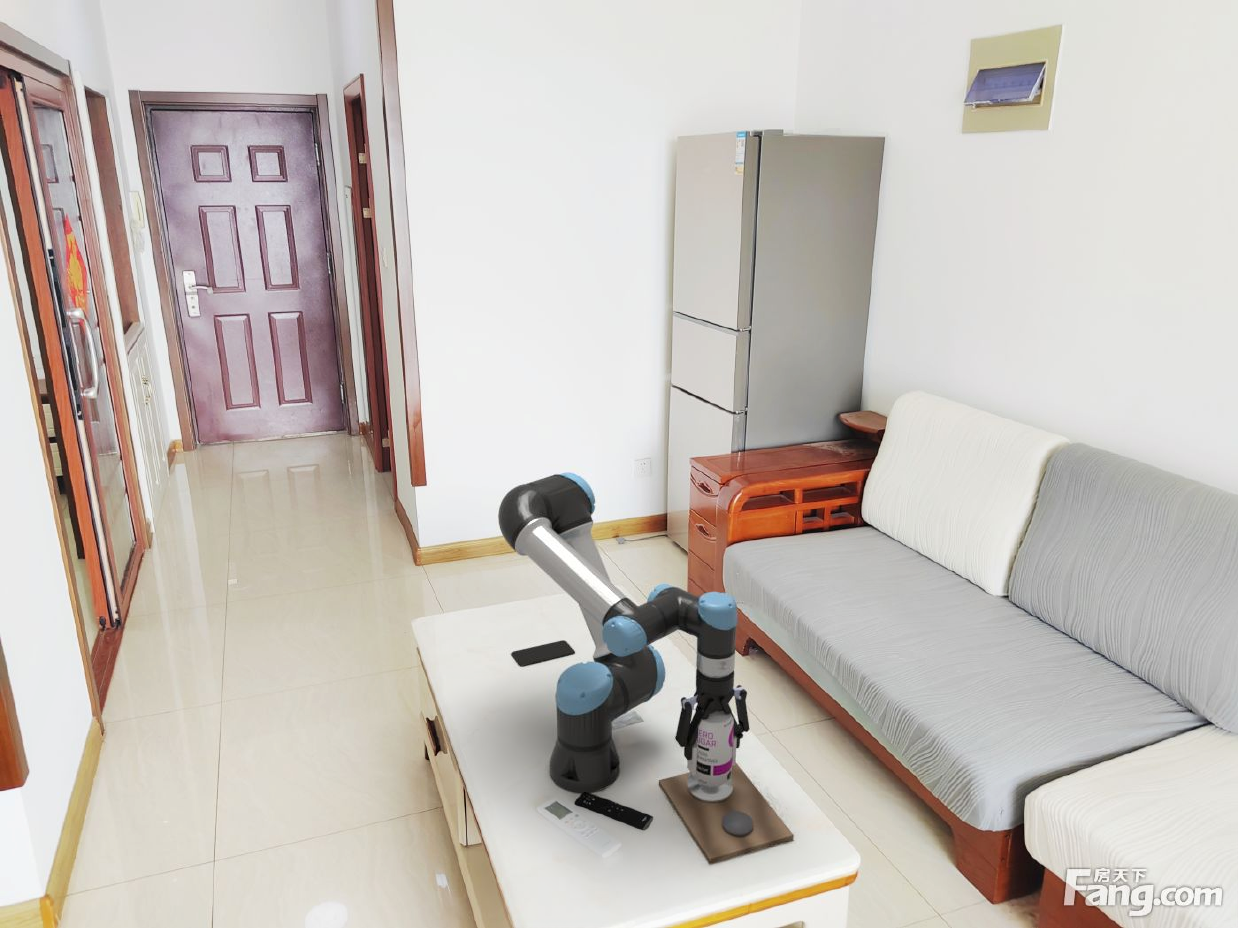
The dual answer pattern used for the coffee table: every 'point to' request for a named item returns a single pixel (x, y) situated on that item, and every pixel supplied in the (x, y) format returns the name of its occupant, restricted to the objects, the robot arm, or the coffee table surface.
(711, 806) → the walnut board
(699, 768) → the supplement can
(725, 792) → the large steel flange
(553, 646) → the smartphone
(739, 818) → the grey disc
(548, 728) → the coffee table surface
